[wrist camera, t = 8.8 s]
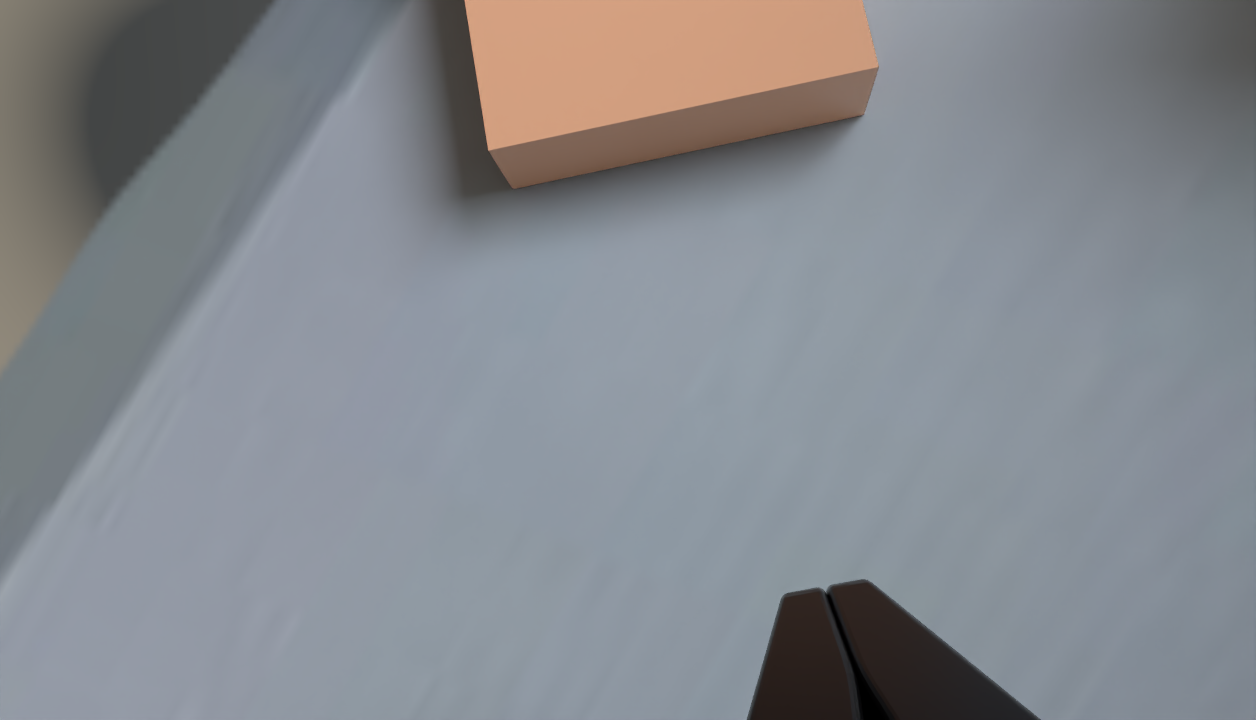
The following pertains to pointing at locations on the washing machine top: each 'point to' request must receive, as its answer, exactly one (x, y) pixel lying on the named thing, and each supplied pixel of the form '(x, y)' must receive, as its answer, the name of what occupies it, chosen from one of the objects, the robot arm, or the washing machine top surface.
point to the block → (658, 77)
